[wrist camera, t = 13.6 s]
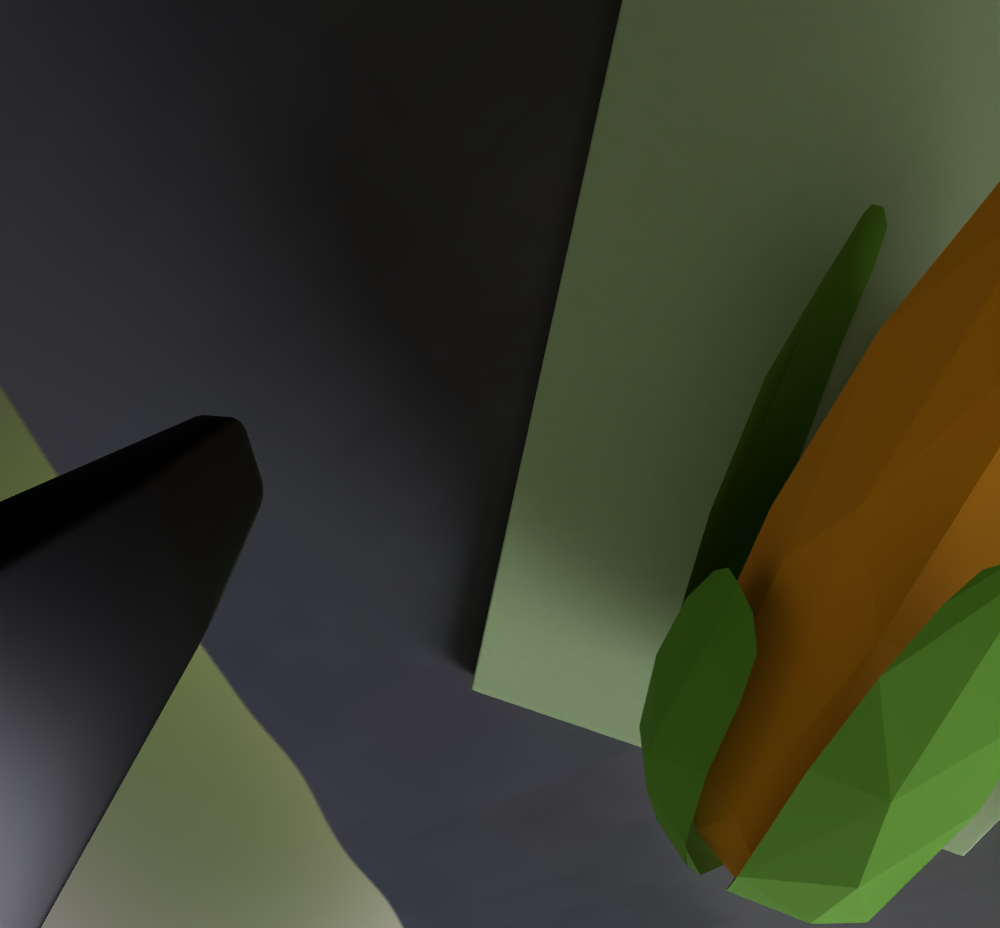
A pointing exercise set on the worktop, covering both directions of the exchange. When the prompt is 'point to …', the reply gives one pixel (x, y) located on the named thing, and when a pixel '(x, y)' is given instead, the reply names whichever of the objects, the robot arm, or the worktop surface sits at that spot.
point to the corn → (846, 603)
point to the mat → (717, 301)
